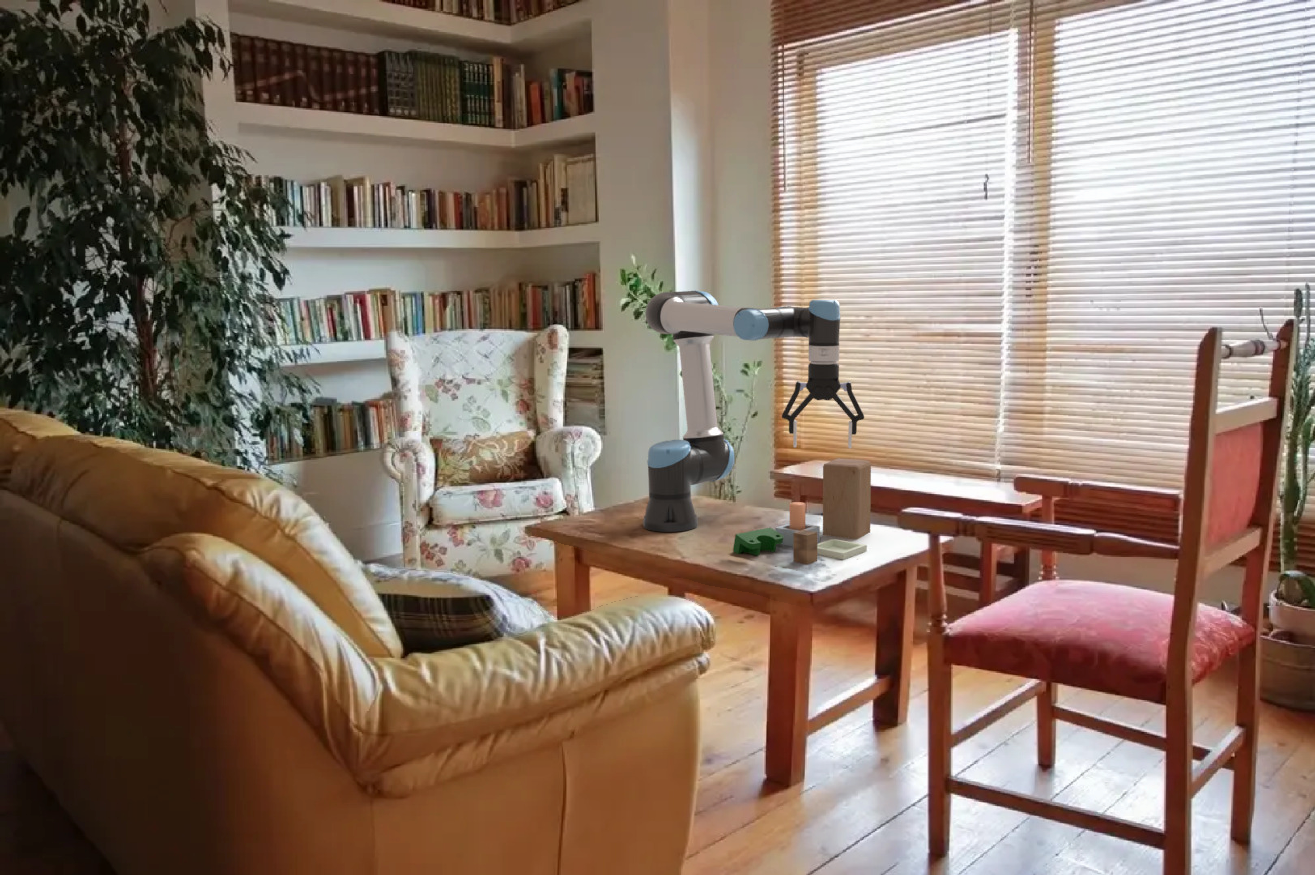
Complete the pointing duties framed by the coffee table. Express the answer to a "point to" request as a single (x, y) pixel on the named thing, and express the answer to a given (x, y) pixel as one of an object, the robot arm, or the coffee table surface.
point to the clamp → (757, 541)
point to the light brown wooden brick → (805, 547)
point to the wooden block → (846, 498)
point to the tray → (840, 548)
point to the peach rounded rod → (797, 516)
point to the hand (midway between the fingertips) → (822, 447)
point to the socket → (789, 532)
